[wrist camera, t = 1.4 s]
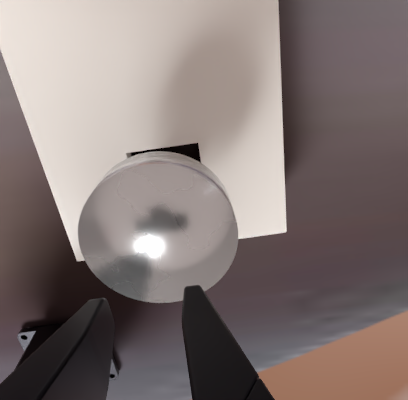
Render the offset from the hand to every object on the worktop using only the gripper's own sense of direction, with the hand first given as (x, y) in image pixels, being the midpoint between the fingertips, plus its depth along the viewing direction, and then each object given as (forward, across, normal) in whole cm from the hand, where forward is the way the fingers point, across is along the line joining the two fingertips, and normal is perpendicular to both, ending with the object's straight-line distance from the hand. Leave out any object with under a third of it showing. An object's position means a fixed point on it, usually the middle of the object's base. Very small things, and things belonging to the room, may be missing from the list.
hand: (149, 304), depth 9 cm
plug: (+8, 0, 0) cm, 8 cm away
